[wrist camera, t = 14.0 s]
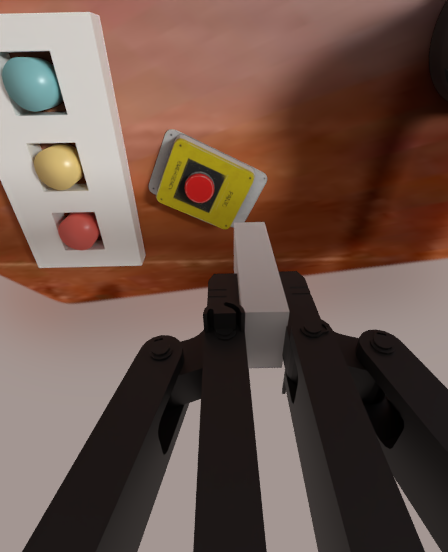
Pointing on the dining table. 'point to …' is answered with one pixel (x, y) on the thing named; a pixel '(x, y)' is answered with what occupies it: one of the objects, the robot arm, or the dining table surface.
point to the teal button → (32, 83)
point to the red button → (79, 230)
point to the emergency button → (204, 181)
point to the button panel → (68, 129)
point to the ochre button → (59, 166)
